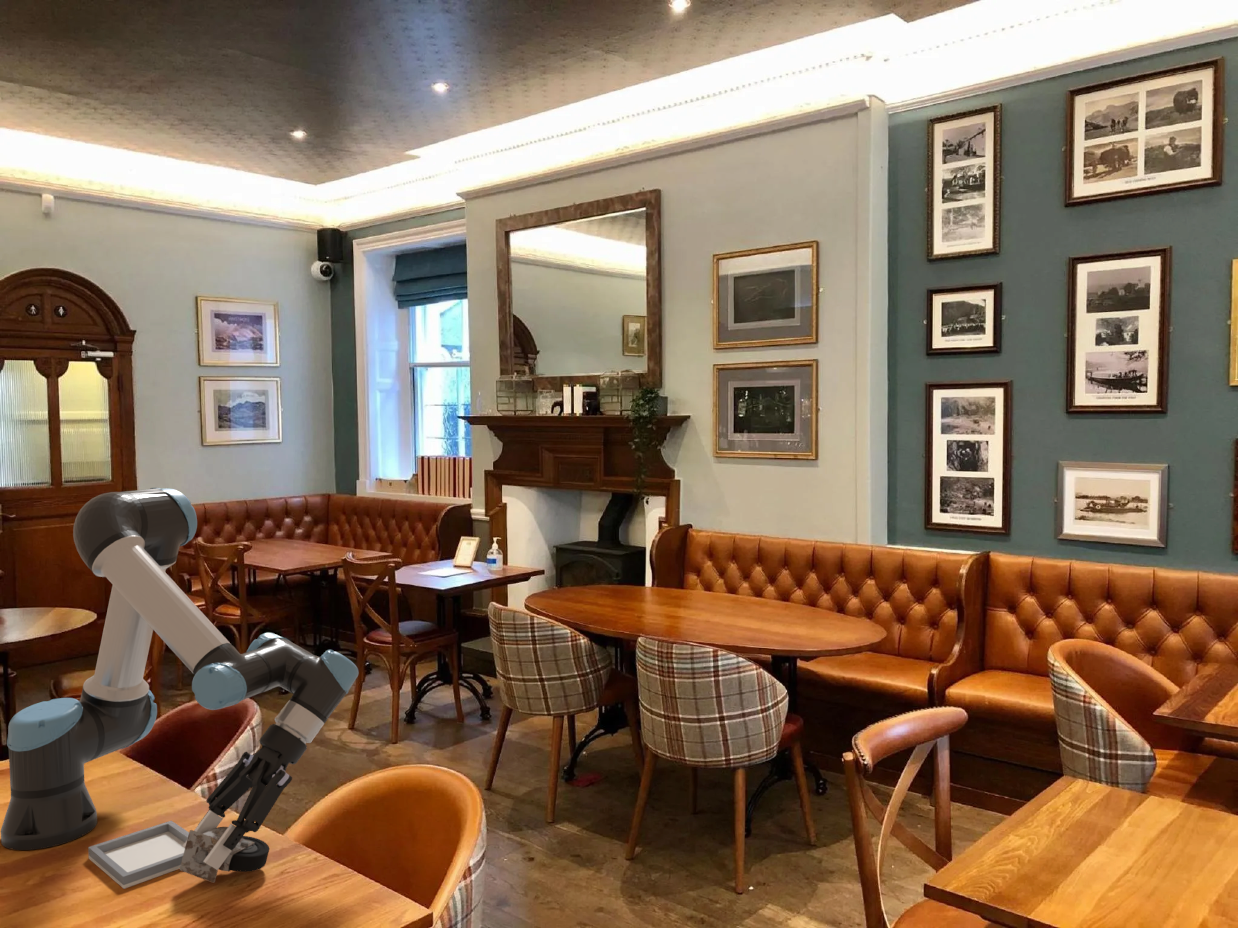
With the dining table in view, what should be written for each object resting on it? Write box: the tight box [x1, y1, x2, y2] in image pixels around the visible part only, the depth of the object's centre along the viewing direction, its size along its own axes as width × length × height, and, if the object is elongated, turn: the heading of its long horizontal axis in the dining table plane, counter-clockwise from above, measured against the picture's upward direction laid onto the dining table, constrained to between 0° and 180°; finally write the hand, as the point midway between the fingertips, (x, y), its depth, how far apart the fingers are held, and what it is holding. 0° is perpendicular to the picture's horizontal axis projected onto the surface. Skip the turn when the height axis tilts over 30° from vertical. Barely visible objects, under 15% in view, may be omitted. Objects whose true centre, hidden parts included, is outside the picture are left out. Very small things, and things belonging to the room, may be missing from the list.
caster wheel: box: [179, 826, 270, 884], centre depth 153 cm, size 7×11×10 cm
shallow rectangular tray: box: [87, 820, 189, 889], centre depth 160 cm, size 16×14×2 cm
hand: (199, 857), depth 150 cm, fingers closed on caster wheel, 7 cm apart
